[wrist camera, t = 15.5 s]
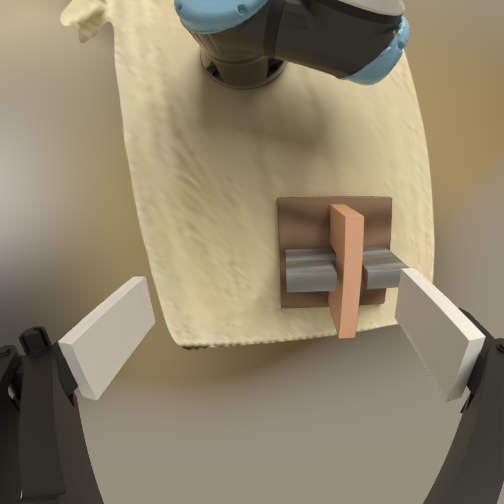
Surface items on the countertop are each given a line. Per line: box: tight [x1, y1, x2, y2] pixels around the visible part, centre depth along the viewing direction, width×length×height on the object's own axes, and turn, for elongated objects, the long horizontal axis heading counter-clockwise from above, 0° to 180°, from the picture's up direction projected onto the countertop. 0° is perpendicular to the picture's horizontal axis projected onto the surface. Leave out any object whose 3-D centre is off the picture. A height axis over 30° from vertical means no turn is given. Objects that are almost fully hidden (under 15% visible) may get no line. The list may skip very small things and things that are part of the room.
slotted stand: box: [278, 197, 409, 308], centre depth 44 cm, size 20×20×14 cm
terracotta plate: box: [328, 204, 364, 338], centre depth 43 cm, size 18×2×12 cm, turn 3°
